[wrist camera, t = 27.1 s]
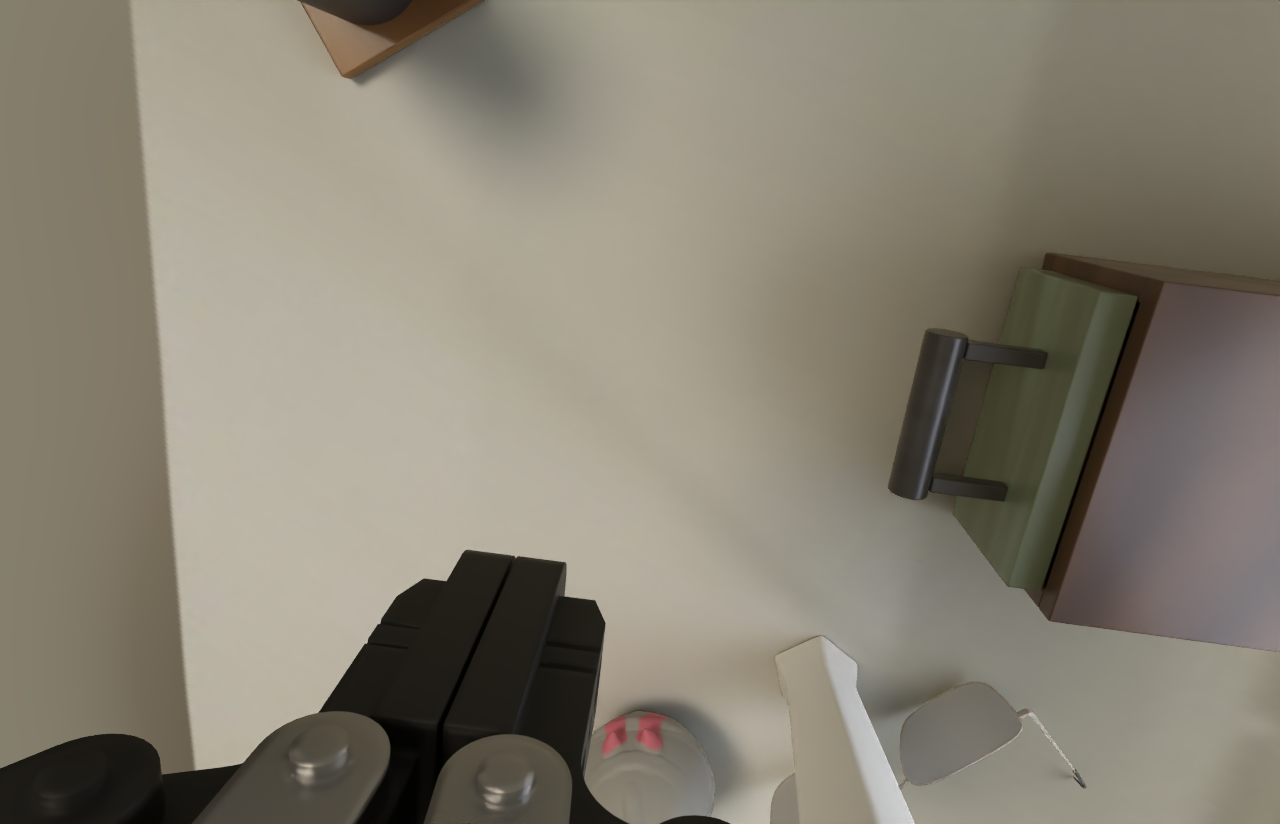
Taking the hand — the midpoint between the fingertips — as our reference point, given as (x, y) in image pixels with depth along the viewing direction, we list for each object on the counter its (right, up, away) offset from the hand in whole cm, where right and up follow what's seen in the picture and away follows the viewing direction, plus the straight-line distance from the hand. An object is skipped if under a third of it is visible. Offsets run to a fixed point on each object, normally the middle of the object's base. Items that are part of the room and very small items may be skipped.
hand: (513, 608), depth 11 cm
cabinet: (+24, +3, +19) cm, 31 cm away
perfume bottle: (+10, -9, +24) cm, 28 cm away
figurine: (+2, -13, +26) cm, 29 cm away
